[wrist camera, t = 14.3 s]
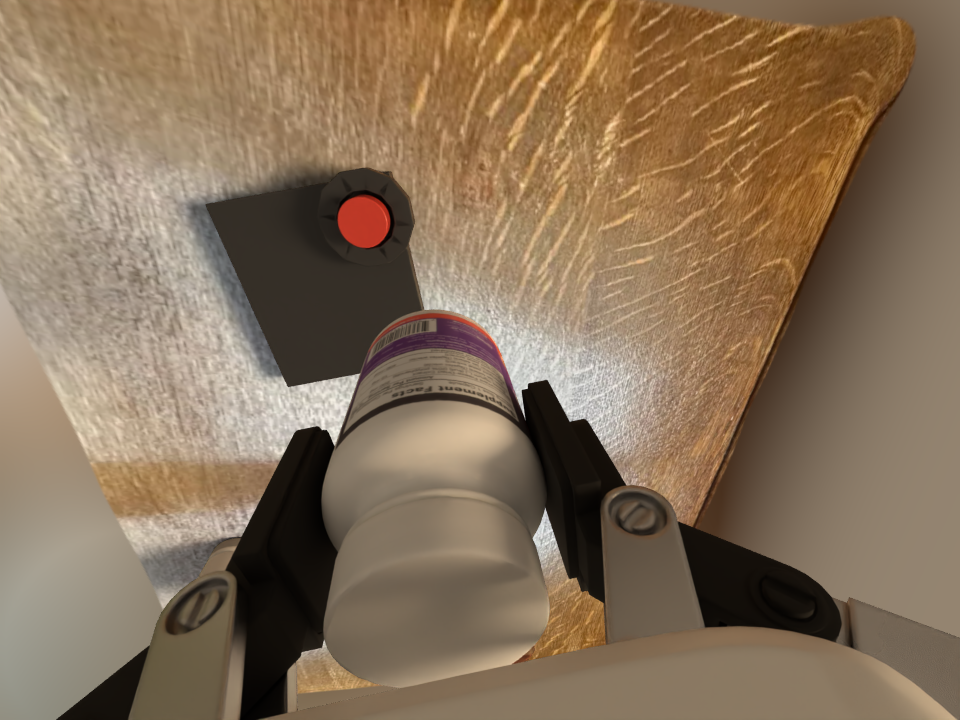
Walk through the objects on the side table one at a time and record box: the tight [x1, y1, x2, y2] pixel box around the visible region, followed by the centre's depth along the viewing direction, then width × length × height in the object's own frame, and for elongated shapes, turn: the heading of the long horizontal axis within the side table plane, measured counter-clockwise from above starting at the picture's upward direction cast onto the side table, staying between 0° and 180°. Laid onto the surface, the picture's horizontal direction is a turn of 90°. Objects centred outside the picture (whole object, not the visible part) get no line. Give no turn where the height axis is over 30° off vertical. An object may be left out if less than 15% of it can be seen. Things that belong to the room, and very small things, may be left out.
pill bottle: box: [321, 310, 550, 688], centre depth 11 cm, size 5×5×10 cm
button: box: [337, 195, 390, 248], centre depth 25 cm, size 3×3×2 cm
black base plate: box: [206, 168, 424, 387], centre depth 29 cm, size 14×13×4 cm
